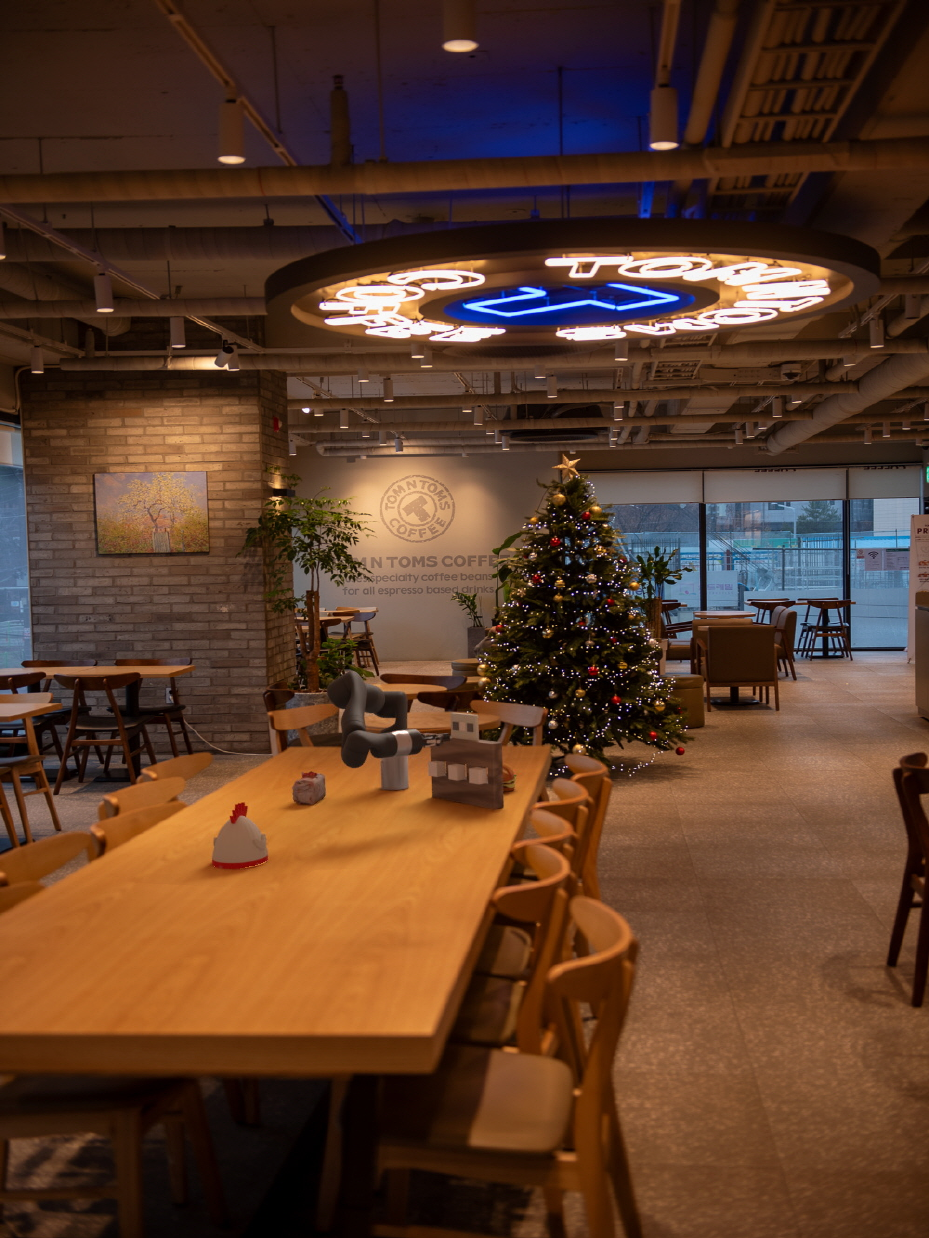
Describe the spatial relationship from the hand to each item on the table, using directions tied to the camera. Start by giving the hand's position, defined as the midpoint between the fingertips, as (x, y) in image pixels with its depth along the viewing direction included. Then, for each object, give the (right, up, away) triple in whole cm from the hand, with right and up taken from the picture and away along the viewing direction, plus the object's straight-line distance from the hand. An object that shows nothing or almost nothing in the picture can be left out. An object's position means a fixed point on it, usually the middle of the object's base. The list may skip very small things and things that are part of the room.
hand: (448, 736), depth 322 cm
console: (+6, -23, +18) cm, 30 cm away
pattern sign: (+5, -3, +17) cm, 18 cm away
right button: (+9, -15, +8) cm, 19 cm away
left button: (-4, -15, +23) cm, 28 cm away
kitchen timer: (-52, -27, -50) cm, 77 cm away
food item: (-45, -24, +26) cm, 58 cm away
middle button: (+2, -15, +15) cm, 22 cm away
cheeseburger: (+17, -22, +37) cm, 46 cm away
